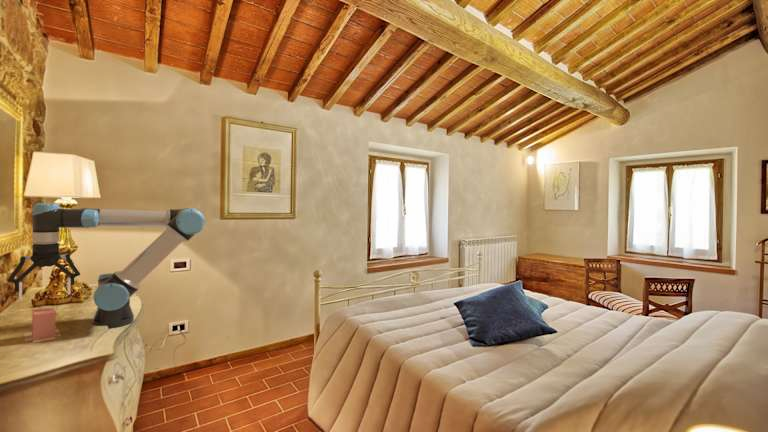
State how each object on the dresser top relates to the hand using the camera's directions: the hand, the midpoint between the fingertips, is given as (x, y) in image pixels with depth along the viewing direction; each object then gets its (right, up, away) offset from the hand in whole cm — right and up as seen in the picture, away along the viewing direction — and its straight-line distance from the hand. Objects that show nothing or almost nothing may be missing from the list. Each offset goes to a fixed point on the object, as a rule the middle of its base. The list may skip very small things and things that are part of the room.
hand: (45, 296), depth 135 cm
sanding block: (-1, -16, 0) cm, 16 cm away
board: (-4, -17, +3) cm, 18 cm away
